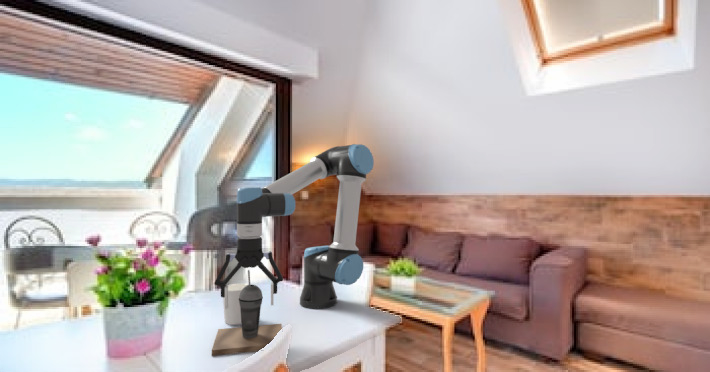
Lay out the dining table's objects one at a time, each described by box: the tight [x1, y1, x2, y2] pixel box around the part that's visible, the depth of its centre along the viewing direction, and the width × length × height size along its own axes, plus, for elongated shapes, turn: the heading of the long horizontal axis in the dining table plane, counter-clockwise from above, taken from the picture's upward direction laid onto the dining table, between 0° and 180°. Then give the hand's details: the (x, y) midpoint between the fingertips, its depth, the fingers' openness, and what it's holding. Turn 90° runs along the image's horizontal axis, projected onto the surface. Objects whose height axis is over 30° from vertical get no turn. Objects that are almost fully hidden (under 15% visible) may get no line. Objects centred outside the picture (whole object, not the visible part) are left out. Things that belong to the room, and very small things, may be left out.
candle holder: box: [222, 282, 249, 326], centre depth 131 cm, size 10×10×12 cm
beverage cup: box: [239, 269, 264, 339], centre depth 114 cm, size 7×7×20 cm
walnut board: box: [211, 323, 283, 356], centre depth 114 cm, size 20×16×2 cm
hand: (249, 305), depth 114 cm, fingers open, 13 cm apart
